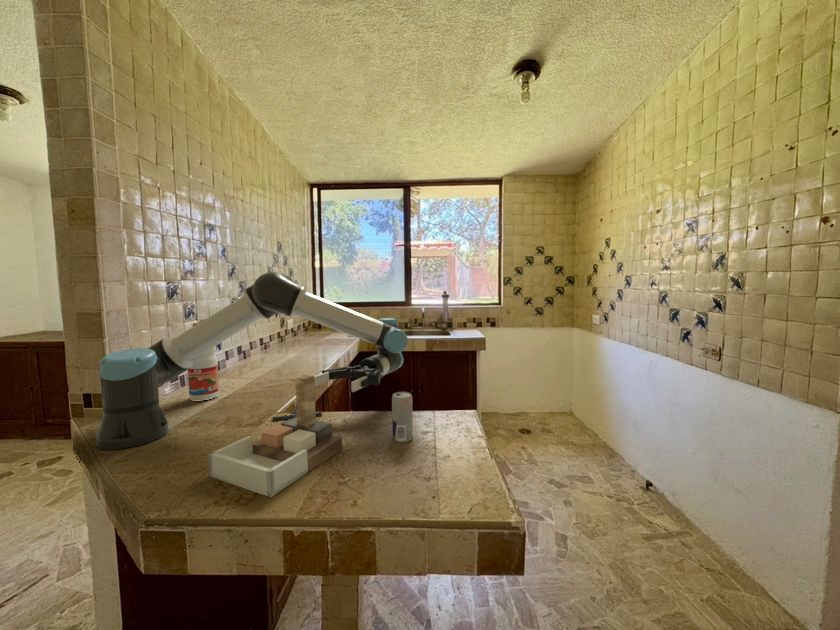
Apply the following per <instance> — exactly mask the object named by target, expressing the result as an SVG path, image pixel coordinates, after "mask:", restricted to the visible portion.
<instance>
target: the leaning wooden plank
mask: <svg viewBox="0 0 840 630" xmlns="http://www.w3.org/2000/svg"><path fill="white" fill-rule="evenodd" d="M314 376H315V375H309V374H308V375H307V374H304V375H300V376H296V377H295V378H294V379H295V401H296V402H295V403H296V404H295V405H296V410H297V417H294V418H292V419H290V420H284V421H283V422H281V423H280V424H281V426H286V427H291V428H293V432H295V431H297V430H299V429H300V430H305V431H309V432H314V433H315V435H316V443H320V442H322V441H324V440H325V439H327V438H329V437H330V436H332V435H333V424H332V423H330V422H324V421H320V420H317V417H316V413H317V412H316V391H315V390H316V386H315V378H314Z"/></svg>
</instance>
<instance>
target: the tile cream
mask: <svg viewBox="0 0 840 630" xmlns="http://www.w3.org/2000/svg"><path fill="white" fill-rule="evenodd" d="M283 443H284V450H285V451H289V452H293V453H298V452H300V451H302V450H303V449H305V450H308V449H310V448H312V447H313V446H315V445H316V435H315V433H314V432H309V431H305V430H300V429H299V430H297V431H295V432H293V433H291V434H289V435H287V436H285V437H283Z"/></svg>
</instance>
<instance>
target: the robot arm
mask: <svg viewBox="0 0 840 630" xmlns="http://www.w3.org/2000/svg"><path fill="white" fill-rule="evenodd" d="M277 314H282V315H285V316H287V317H290V318H292V317H296V316H298V317H300V318H303V319H306V320H309V321H311V322H314V323H316V324H319V325H321V326H325V327H327V328H331V329H332V330H335V331H338V332H341V333H343V334H346V335H348V336H351V337H354V338H356V339H359V340H362V341H364V342H367V343H370V344H373V345H375V346H377V348H376V350H377V353H376V354H374V355H372V356H369V357H366V358H363V359H362V360H361V361H360V362H359V364H358V365H355V366H351V365H345V366H342V367H340V366H339V367H335V368H330V369H323V370H321V373H319V374H317V375H313V376H314V378H315V387H316V386H321V385H322V384H326V383H328V382H330V380H332V381H333V380H337V379H345V378H347V379H349V380H351V379H355V380H353V381H351V384H350V385H351V388H350V389H351V392H352V393H355V392H357V391H359V390H361V389H363V388H365V387H368V386H373V385H374V386H376V387H377V386H379V385H380V383H381V379H382V378H384V376H385V375H388V374H391V373H394V372H395V371H397V370H398V369H399V368H401V367H402V366H403V364H404V356H403V353H402V352H403V351H404V350H405V349H406V348H407V346H408V341H409V340H408V336H407V334H406V332H405V331H404V330H403V329H401V328H399V323H398V322H399V321H398V319H397V318H396V317H395V318H394V317H384V318H381V317H380V318H378V319H376V318H373V317H371V316H369V315H366V314H363V313H360V312H359V311H358V312H357V311H356V310H353V309H351V308H349V307H345V306H343V305H340V304H338V303H335V302H333V301H331V300H328V299H325V298H323V297H321V296H318V295H315V294H313V293H311V292H308V291H307V290H306V288H305V287H304V286H302V285H300V284H297V283H295V281H294V280H293V279H292V278H291V277H290V276H289V275H287V274H284V273H279V272H272V271H271V272H270V271H269V272H266V273H263V274H262V275H260V276H258V277H257V278H256V280H255V281H254V282H253V284H252V285H250V286H248V287H247V288H245V289H244V292H243V296H241V297H239V298H238V299H236V300H235V301H233V302H232V303H230V304H228V305H227V306H225V307H224V308H222V309H220V310H218V311H216V312H215V313H213V314H212V315H210V316H209V317H207V318H205V319H203V320H201V321H199V322H198V323H199V324H197V325H195V326H194V327H193V326H192V327H190V328H188V329H187V330H185V331H184V332H182V333H180V334H179V335H177V336H175V337H170V336H166V337H164V338H162V339H161V340H159V341H157V342H156V343H154V344H152V345H151V346H149V347H147V348H144V347H143V348H142V347H138V348H129V349H124V350H123V349H122V350H121V351H115V352H111V353H109V354H106V355H105V356H103V357H102V358H101V359H100V361H99V369H98V375H99V380H100V392H101V403H102V405H101V406H102V418H101V421H100V423H99V426H98V430H97V433H96V435H95V446H96V448H97V447H98V449H100V450H105V451H106V450H111V451H112V450H121V449H123V450H124V449H129V448H133V447H137V446H141V445H144V444H147V443H152V442H154V441H156V440H158V439H161V438H162V437H164V436H165V435H167V434H168V433H169V421H168V419H167V418H166V416H165V414H164V412H163V410H162V407H161V405H160V400H159V399H160V397H159V388H160V387H161V386H163V385H165V384H167V383H169V382H172V381H173V380H175V379H176V378H177V377H178V376H179V375H181V374H182V373H184V372H186V371H188V369H189V368H190V367H192V364H193V360H194V359H196V358H197V357H199V356H200V355H202V354H204V353H205V352H207V351H208V350H210V349H212V348H213V347H215V346H216V347H217V345H219V344H221V343H223V342H225V341H226V340H228V339H229V338H231V337H233V336H234V335H235V334H237V333H239V332H241V331H242V330H244V329H245V328H247V327H248V326H251V325H252V324H254V323H255V322H257V321H258V320H260V319H264V320H268V319H270V318H272V317H274V316H275V315H277Z"/></svg>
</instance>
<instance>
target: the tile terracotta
mask: <svg viewBox="0 0 840 630" xmlns="http://www.w3.org/2000/svg"><path fill="white" fill-rule="evenodd" d="M291 433H293V428H291V427H286V426H281V425H280V424H276V425H275V426H272V427H270V428H268V429H265V430H263V431H261V438H262V445H266V446H270V447H274V448H279V447H281V446H283V445H284V443H283V437H285V436H287V435H289V434H291Z"/></svg>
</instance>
